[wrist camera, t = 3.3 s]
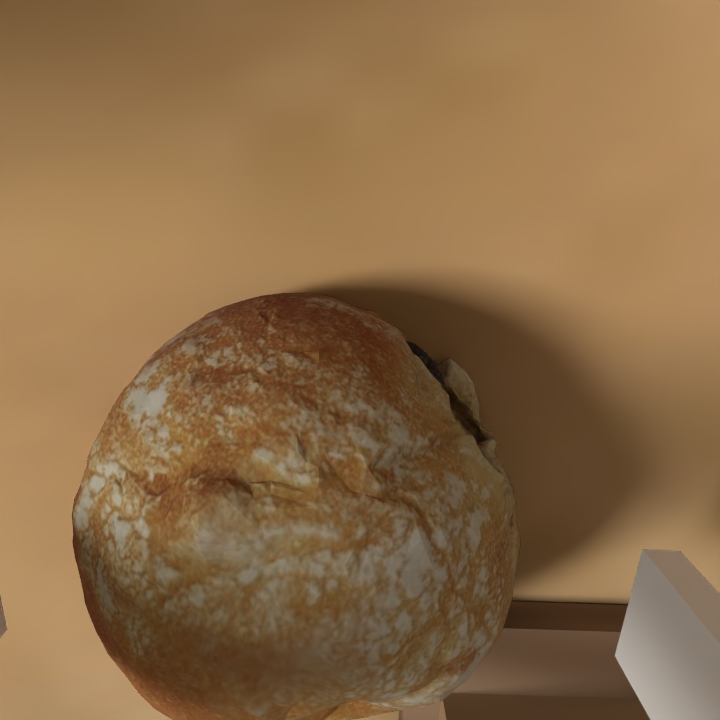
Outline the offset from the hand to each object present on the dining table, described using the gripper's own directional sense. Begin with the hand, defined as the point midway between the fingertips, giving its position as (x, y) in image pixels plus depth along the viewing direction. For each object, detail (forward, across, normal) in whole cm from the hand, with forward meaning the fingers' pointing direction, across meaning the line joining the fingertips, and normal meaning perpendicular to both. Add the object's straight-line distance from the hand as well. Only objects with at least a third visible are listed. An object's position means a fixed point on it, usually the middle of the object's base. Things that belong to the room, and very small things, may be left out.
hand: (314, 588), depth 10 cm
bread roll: (+4, -1, 0) cm, 4 cm away
